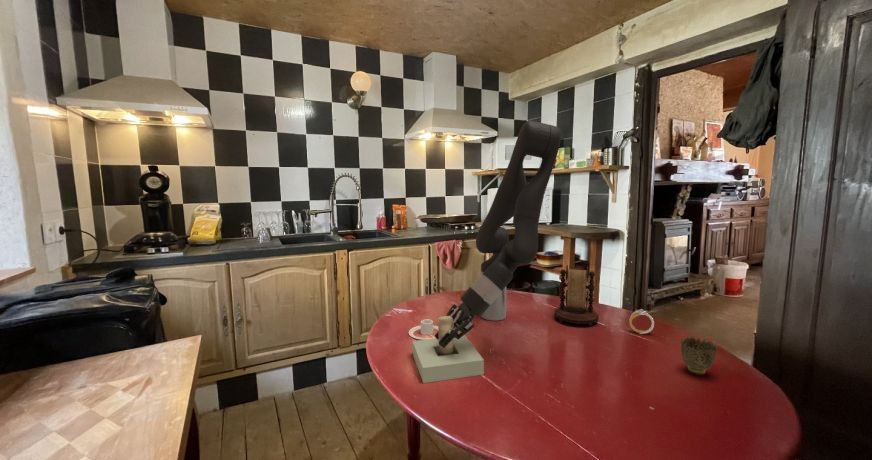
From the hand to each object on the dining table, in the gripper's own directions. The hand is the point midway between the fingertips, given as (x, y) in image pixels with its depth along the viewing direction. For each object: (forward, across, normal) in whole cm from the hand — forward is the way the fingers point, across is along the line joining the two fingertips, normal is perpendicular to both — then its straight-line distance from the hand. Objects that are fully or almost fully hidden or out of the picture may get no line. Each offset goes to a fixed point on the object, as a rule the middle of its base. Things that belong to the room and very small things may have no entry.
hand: (439, 341), depth 99 cm
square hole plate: (+3, 0, +6) cm, 7 cm away
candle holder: (+4, -22, +6) cm, 23 cm away
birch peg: (+2, 0, +5) cm, 5 cm away
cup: (-40, +21, +49) cm, 67 cm away
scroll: (-34, -19, +44) cm, 58 cm away
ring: (-43, -3, +53) cm, 68 cm away
